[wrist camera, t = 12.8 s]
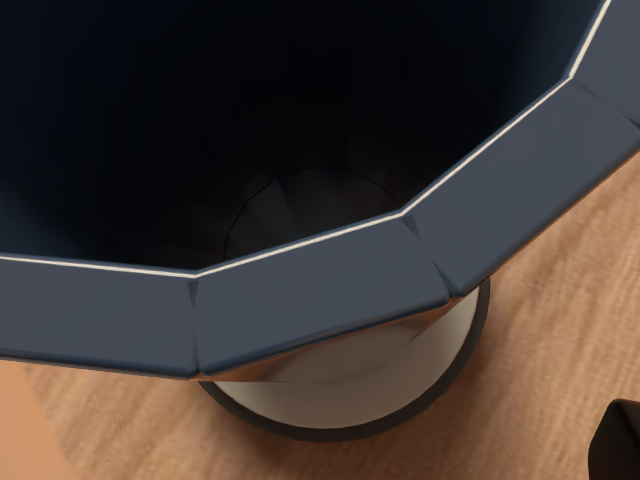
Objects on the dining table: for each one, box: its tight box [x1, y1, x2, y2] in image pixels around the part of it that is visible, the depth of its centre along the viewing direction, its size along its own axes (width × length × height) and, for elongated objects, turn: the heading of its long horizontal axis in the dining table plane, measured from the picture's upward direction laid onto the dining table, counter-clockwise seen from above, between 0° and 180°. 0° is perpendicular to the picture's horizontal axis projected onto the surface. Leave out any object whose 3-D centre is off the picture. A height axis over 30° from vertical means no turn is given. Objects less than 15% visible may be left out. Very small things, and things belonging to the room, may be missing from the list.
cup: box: [0, 0, 640, 384], centre depth 10 cm, size 6×6×13 cm
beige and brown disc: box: [198, 278, 490, 443], centre depth 17 cm, size 9×9×3 cm
